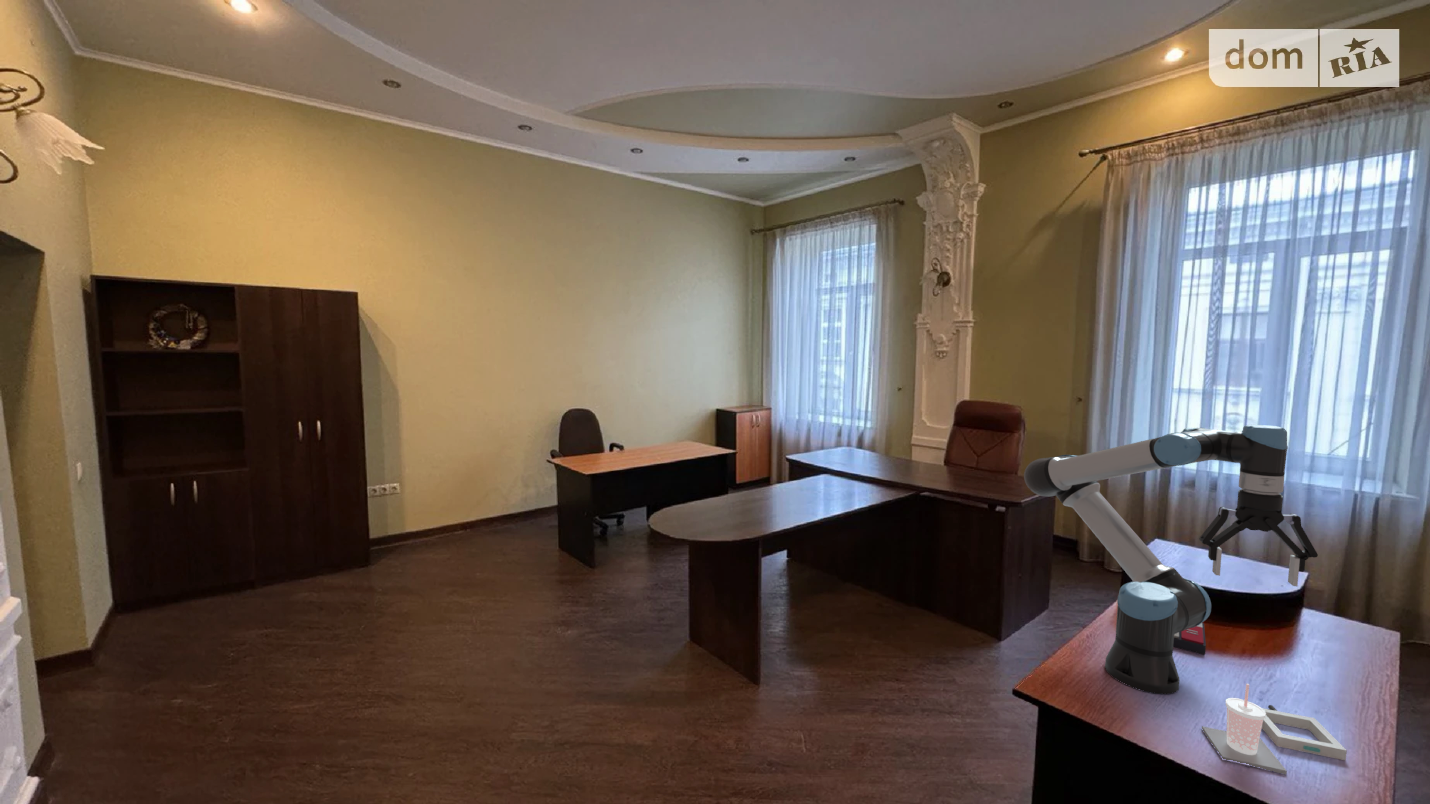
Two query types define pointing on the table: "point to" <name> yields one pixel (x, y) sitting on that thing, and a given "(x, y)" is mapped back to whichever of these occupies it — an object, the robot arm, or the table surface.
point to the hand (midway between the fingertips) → (1253, 578)
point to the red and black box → (1191, 639)
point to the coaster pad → (1260, 759)
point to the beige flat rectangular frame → (1322, 747)
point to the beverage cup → (1244, 724)
